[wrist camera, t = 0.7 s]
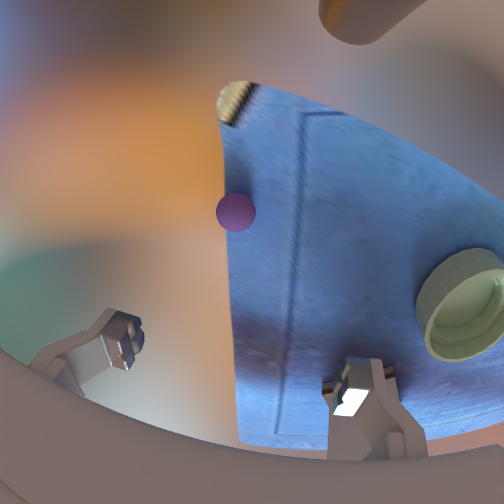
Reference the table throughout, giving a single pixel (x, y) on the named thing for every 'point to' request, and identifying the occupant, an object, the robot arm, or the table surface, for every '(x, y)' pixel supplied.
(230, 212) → the ball
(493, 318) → the bowl
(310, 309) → the table surface
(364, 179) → the table surface
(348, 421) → the brown-rimmed upright block
